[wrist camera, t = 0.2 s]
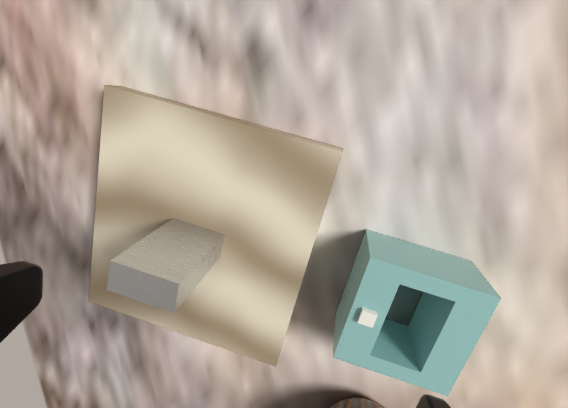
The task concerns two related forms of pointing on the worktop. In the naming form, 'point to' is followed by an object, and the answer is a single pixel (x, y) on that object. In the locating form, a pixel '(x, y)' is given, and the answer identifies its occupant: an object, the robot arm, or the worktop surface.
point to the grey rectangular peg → (165, 264)
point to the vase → (356, 403)
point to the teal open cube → (425, 321)
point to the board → (211, 213)
